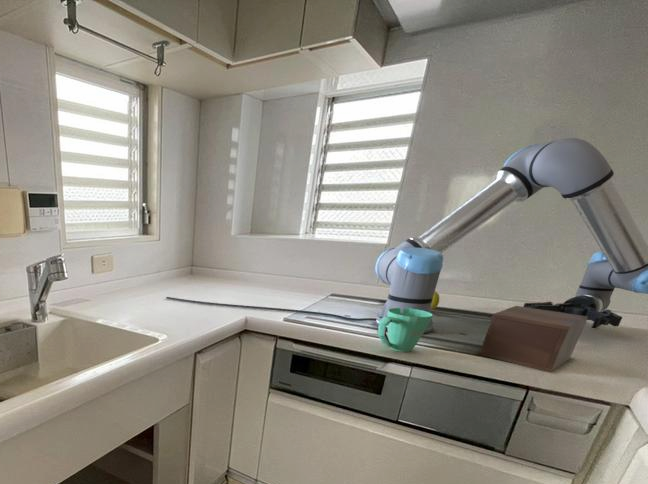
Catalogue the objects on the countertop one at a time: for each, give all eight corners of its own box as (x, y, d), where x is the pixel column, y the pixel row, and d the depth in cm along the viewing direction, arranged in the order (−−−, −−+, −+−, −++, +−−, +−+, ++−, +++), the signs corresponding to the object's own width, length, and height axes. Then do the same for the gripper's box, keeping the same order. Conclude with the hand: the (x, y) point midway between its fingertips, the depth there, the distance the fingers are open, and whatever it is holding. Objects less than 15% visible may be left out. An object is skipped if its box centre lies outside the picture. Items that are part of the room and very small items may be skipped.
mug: (396, 341, 113) (404, 306, 109) (430, 352, 105) (441, 314, 101) (358, 348, 108) (366, 311, 104) (392, 360, 99) (402, 320, 96)
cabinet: (502, 344, 111) (515, 305, 107) (570, 358, 100) (588, 316, 96) (479, 355, 103) (493, 313, 99) (550, 372, 92) (569, 326, 88)
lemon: (415, 309, 148) (420, 288, 145) (431, 310, 147) (437, 288, 144) (421, 313, 143) (427, 291, 140) (438, 314, 142) (445, 291, 139)
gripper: (636, 329, 113) (620, 342, 102) (523, 311, 132) (499, 321, 121) (649, 302, 110) (634, 313, 99) (532, 288, 129) (508, 296, 118)
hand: (560, 317), depth 110 cm, fingers open, 13 cm apart
